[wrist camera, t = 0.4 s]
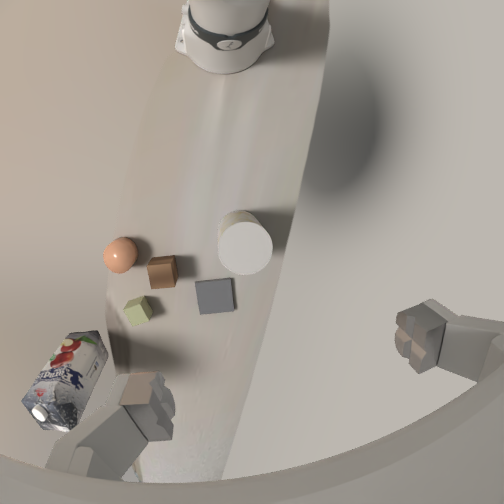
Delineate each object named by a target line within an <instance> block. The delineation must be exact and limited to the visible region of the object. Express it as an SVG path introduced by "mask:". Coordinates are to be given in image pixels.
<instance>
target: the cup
mask: <svg viewBox="0 0 504 504" xmlns="http://www.w3.org/2000/svg"><path fill="white" fill-rule="evenodd" d="M217 232H218V256H219V259H220V261H221V263H222V264H223V265H224V267H225V268H226V269H228V270H229V271H231V272H233V273H235V274H239V275H250V274H254V273H256V272H258V271H260V270H261V269H263V268H264V267H265V266H266V265H267V263H268V262H269V260H270V258H271V255H272V250H273V245H272V240H271V238H270V236H269V234H268V232H267V231H266V230H265V229H264V227H263V226H262V225H261V224H260V223H259V221H258V220H257V219H256V218H255V217H254V216H253V215H252V214H250V213H249V212H246V211H233V212H230V213H228V214H227V215H225V216H224V217H223V218H222V220H221V221H220V223H219V226H218V231H217Z"/></svg>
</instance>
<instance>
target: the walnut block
mask: <svg viewBox="0 0 504 504" xmlns="http://www.w3.org/2000/svg"><path fill="white" fill-rule="evenodd" d="M147 270H148V275H149V280H150V285H151V289H159V288H170V287H175V285H176V282H177V279H178V273H177V267H176V261H175V255H173V256H163V257H154V258H152V259H151V260H150V262H149V263H148V265H147Z"/></svg>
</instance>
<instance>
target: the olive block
mask: <svg viewBox="0 0 504 504" xmlns="http://www.w3.org/2000/svg"><path fill="white" fill-rule="evenodd" d="M123 310H124V312H125V314H126V316H127V318H128V319H129V321H130V323H131V325H132V326H136V325H139V324H142V323H145V322H148V321H149V320H150V317H151V315H152V313H153V311H152V310H151V308H150V306H149V304H148V302H147V300H146V298H145V296H142V297H139V298H136V299H134V300H131V301H128V303H127V304H126V306H125V308H124V309H123Z"/></svg>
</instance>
